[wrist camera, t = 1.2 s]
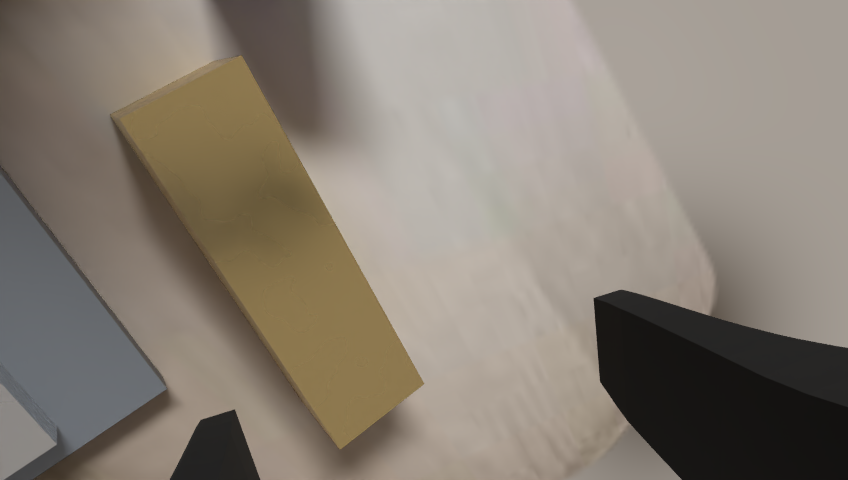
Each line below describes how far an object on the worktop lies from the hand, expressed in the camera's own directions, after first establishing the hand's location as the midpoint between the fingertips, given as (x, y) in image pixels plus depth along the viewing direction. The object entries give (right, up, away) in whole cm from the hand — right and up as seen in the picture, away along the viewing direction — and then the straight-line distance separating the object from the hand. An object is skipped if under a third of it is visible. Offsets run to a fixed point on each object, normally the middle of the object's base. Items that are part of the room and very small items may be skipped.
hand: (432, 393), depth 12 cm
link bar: (-6, +3, +10) cm, 12 cm away
